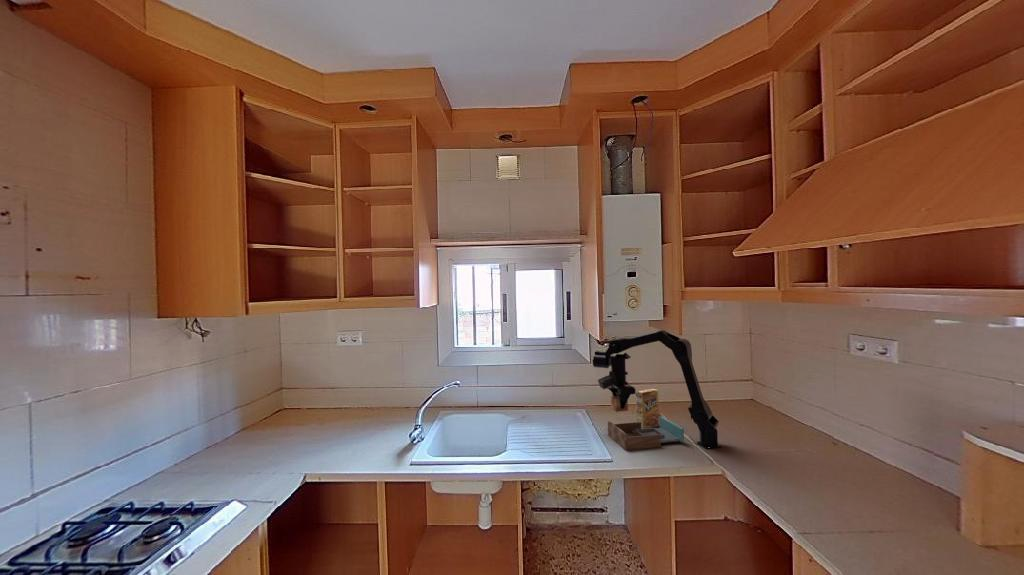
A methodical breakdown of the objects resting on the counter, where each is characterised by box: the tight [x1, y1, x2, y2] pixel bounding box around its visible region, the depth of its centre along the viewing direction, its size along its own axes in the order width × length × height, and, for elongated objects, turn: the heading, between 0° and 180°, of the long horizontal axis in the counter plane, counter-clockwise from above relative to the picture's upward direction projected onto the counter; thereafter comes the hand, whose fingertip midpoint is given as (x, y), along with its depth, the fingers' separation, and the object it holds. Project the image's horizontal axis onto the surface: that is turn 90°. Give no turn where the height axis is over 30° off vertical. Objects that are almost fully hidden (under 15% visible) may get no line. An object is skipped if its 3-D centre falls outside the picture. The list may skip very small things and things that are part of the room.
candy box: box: [635, 388, 660, 429], centre depth 195 cm, size 9×4×15 cm, turn 116°
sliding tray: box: [631, 415, 685, 444], centre depth 179 cm, size 16×14×5 cm
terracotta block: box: [610, 395, 629, 412], centre depth 190 cm, size 5×5×5 cm
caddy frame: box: [607, 421, 662, 451], centre depth 178 cm, size 16×14×6 cm
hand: (619, 407), depth 190 cm, fingers closed on terracotta block, 5 cm apart
